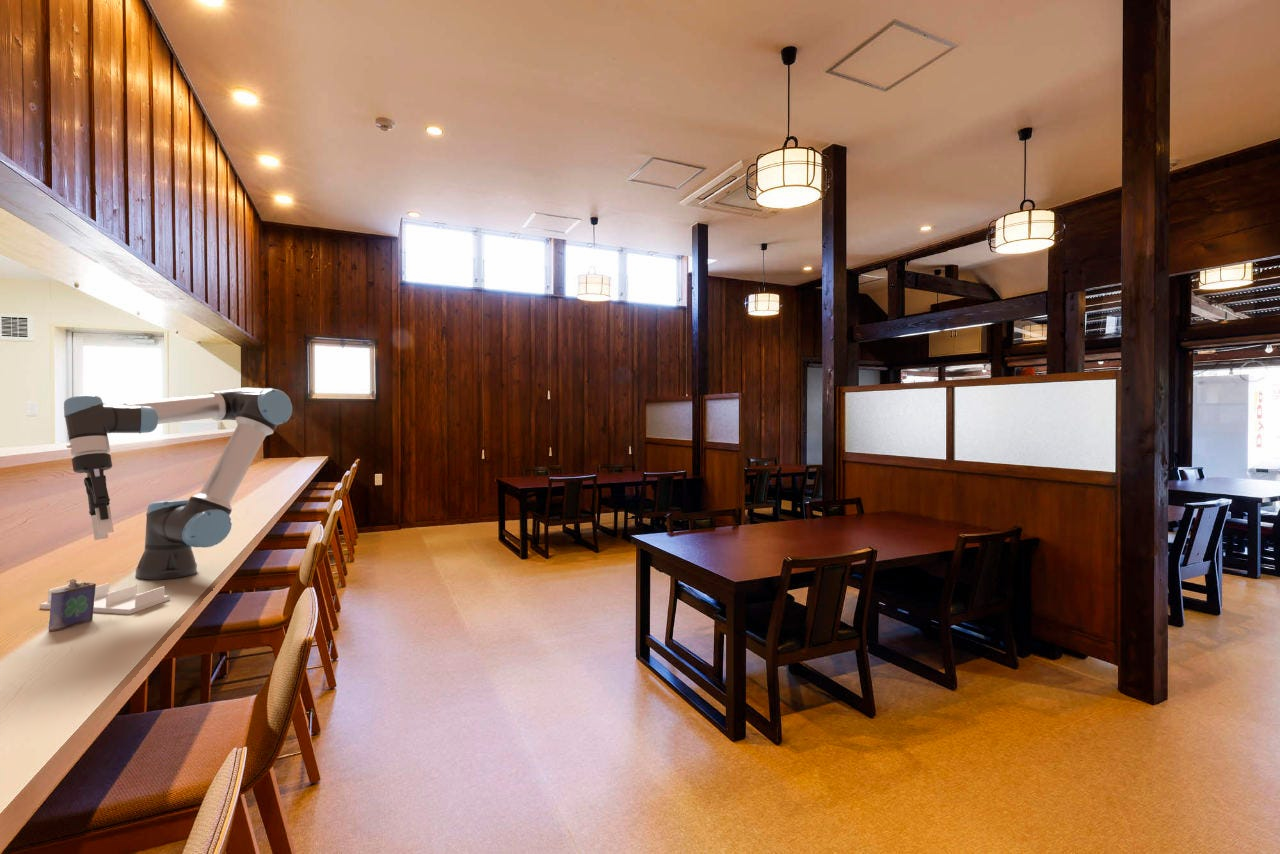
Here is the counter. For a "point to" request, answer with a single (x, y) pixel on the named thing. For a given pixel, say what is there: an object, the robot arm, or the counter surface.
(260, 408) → the robot arm
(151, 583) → the counter surface
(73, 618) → the flask
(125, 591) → the rack
